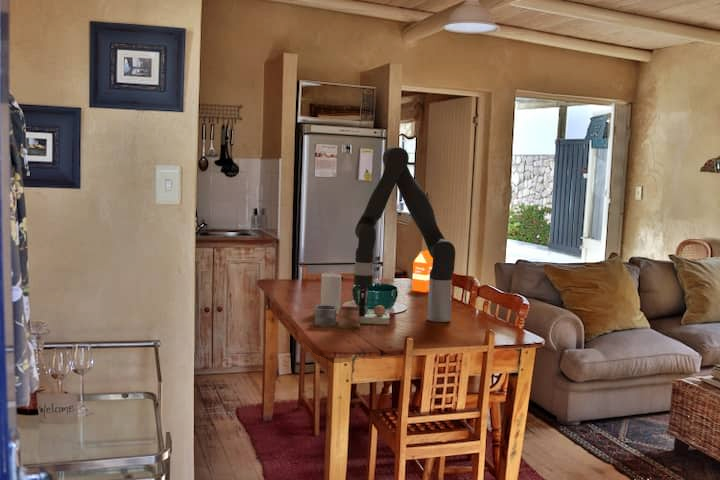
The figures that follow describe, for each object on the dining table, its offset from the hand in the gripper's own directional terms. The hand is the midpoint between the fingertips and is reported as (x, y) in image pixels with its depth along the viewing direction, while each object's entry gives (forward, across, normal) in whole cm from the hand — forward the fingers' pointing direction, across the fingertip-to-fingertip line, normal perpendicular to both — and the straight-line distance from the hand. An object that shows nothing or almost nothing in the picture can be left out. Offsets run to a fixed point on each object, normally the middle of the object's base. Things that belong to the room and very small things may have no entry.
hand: (361, 314), depth 278 cm
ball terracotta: (0, 0, -7) cm, 7 cm away
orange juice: (+3, +72, -30) cm, 78 cm away
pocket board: (+2, 0, -4) cm, 4 cm away
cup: (+3, +12, +14) cm, 18 cm away
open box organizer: (+2, -10, +10) cm, 14 cm away
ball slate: (0, 0, 0) cm, 0 cm away
